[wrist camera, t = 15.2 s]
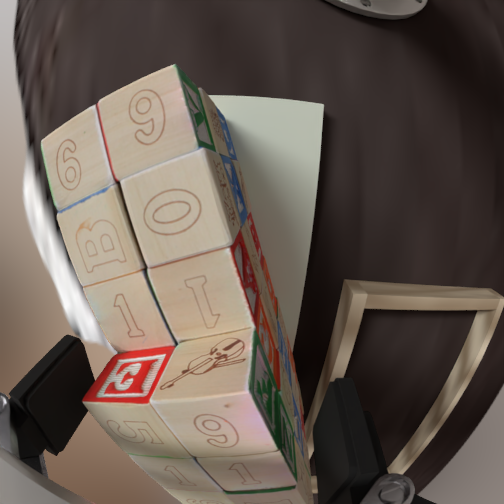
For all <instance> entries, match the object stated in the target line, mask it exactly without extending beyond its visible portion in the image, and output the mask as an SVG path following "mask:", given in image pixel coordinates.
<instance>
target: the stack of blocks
mask: <svg viewBox="0 0 504 504" xmlns="http://www.w3.org/2000/svg"><path fill="white" fill-rule="evenodd" d="M41 150H42V154H43V159H44V164H45V168H46V173H47V177H48V182H49V186H50V190H51V194H52V197H53V201H54V205H55V207H56V208H57V210H58V213H57V220H58V223H59V226H60V229H61V232H62V236H63V239H64V242H65V245H66V248H67V250H68V253H69V256H70V258H71V261H72V264H73V266H74V269H75V271H76V274H77V277H78V279H79V281H80V283H81V284H82V286H83V289H84V293H85V296H86V299H87V301H88V303H89V305H90V307H91V309H92V311H93V313H94V315H95V317H96V319H97V321H98V323H99V325H100V327H101V329H102V331H103V332H104V334H105V336H106V338H107V340H108V342H109V343H110V344H111V346H112V347H113V348H114V349H115V350H116V351H117V352H118V353H117V354H116V355H115V356H113V357H112V358H111V360H110V361H109V362H108V363H107V365H106V367H105V368H104V370H103V371H102V372H101V374H100V375H99V376H98V378H97V379H96V381H94V383H93V385H92V386H91V387H90V389H89V390H88V392H87V393H86V394H85V396H84V398H83V400H82V402H83V404H84V405H85V407H86V408H87V409H88V411H89V412H90V413H91V414H92V416H93V417H94V418H95V419H96V421H97V422H98V423H99V424H100V426H101V427H102V428H103V429H104V430H105V431H106V433H107V434H108V435H109V436H110V437H111V438H112V439H113V441H114V442H115V443H116V444H117V445H118V446H119V447H120V448H121V449H122V450H123V451H125V452H126V453H127V454H128V455H129V456H130V458H131V459H132V460H133V461H134V462H135V463H136V464H137V465H138V466H139V467H140V468H141V469H142V470H143V471H145V472H146V473H147V474H148V475H149V476H150V477H151V478H152V479H153V480H154V481H155V482H157V483H158V484H159V485H161V486H163V488H164V489H165V490H166V491H167V492H169V493H170V494H171V495H172V496H174V497H175V498H176V499H177V500H179V501H180V502H181V503H183V504H314V503H313V495H312V486H311V473H310V462H309V453H308V446H307V443H306V435H305V428H304V420H303V414H304V410H303V404H302V397H301V391H300V386H299V382H298V378H297V374H296V370H295V362H294V358H293V355H292V351H291V347H290V343H289V339H288V335H287V332H286V327H285V323H284V319H283V316H282V312H281V308H280V304H279V301H278V298H277V297H276V296H275V294H274V289H273V286H272V282H271V279H270V275H269V271H268V268H267V264H266V260H265V257H264V256H263V254H262V250H261V246H260V242H259V238H258V235H257V232H256V228H255V225H254V221H253V218H252V214H251V208H252V206H251V203H250V199H249V196H248V192H247V188H246V185H245V181H244V178H243V174H242V171H241V168H240V164H239V162H238V160H237V157H236V153H235V150H234V146H233V143H232V139H231V136H230V133H229V129H228V126H227V123H226V119H225V117H224V115H223V114H222V113H221V112H220V110H219V109H218V108H217V106H216V105H215V103H214V102H213V101H212V100H211V98H210V97H209V96H208V95H207V94H206V92H205V91H204V90H203V89H202V88H197V86H196V85H195V84H194V83H193V82H192V81H191V80H190V79H189V78H188V76H187V75H186V74H185V73H184V72H183V71H182V70H181V69H180V68H179V67H178V66H177V65H176V64H174V65H171V66H169V67H166V68H164V69H161V70H159V71H157V72H154V73H152V74H150V75H148V76H145V77H143V78H141V79H139V80H137V81H135V82H133V83H131V84H129V85H127V86H125V87H123V88H121V89H119V90H117V91H115V92H113V93H111V94H110V95H108V96H106V97H104V98H102V99H101V100H99V102H98V104H96V105H94V106H92V107H90V108H88V109H86V110H85V111H83V112H82V113H80V114H78V115H77V116H75V117H74V118H72V119H71V120H69V121H68V122H66V123H65V124H64V125H62V126H61V127H59V128H58V129H56V130H55V131H54V132H52V133H51V134H49V135H48V136H47V137H45V138H44V139H43V140H42V141H41Z"/></svg>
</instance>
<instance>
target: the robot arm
mask: <svg viewBox="0 0 504 504" xmlns="http://www.w3.org/2000/svg"><path fill="white" fill-rule="evenodd" d="M325 1H327V2H330V3H332V4H334V5H336V6H338V7H341V8H343V9H346V10H349V11H351V12H354V13H358V14H362V15H365V16H369V17H375V18H380V19H393V20H395V19H405V18H408V17H411V16H414V15H415V14H417V13H418V12H419V11H420V10H421V9H422V8H423V7H424V6H425V5H426V3H427V0H325ZM94 381H95V379H94V376H93V373H92V370H91V367H90V364H89V360H88V357H87V354H86V351H85V347H84V345H83V343H82V342H81V340H80V339H79V338H77V337H73V336H71V335H66V336H64V337H63V338H62V339H61V340H60V341H59V342H58V343H57V344H56V345H55V346H54V347H53V348H52V349H51V350H50V351H49V352H48V353H47V354H46V355H45V356H44V357H43V358H42V359H41V360H40V361H39V362H38V363H37V364H36V365H35V366H34V367H33V368H32V369H31V370H30V371H29V372H28V374H27V375H25V377H24V378H23V379H22V380H21V381H20V382H19V383H18V384H17V385H16V386H15V387H14V388H13V389H12V391H11V392H10V393H9V395H10V396H11V398H10V399H8V397H7V396H6V395H5V394H3V393H1V392H0V504H96V503H93V502H91V501H89V500H87V499H85V498H83V497H81V496H79V495H77V494H75V493H73V492H71V491H69V490H67V489H65V488H64V487H62V486H60V485H58V484H57V483H55V482H53V481H52V480H50V479H49V478H48V474H47V469H46V465H45V460H44V454H43V451H44V450H45V449H46V450H47V451H48V452H50V453H52V454H54V455H56V456H57V455H58V453H59V452H61V451H63V450H64V448H65V446H66V445H67V443H68V442H69V440H70V438H71V437H72V435H73V434H74V432H75V431H76V429H77V427H78V426H79V424H80V422H81V421H82V419H83V418H84V416H85V415H86V413H87V412H88V409H87V408H86V407H85V405H84V404H83V402H82V400H83V398H84V396H85V394H86V393H87V392H88V390H89V389H90V387H91V386H92V385H93V383H94ZM312 434H313V444H314V455H315V465H316V477H317V489H318V503H319V504H436V503H433V502H431V501H429V500H426V499H424V498H422V497H420V496H418V495H416V494H414V493H415V490H414V485H413V483H412V481H411V480H410V479H409V478H408V477H406V476H404V475H402V474H398V473H390V474H389V473H388V470H387V466H386V462H385V459H384V455H383V452H382V448H381V445H380V442H379V438H378V435H377V432H376V428H375V425H374V422H373V419H372V416H371V414H370V412H368V411H363V410H362V407H361V403H360V400H359V397H358V393H357V390H356V387H355V384H354V381H353V379H352V378H335V380H334V382H330V383H329V385H328V388H327V391H326V393H325V396H324V399H323V402H322V405H321V407H320V410H319V412H318V415H317V418H316V420H315V423H314V425H313V431H312Z"/></svg>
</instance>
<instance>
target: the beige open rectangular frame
mask: <svg viewBox="0 0 504 504" xmlns="http://www.w3.org/2000/svg"><path fill="white" fill-rule="evenodd" d="M503 306H504V297H503V296H501V295H500V294H498V293H497V292H495V291H494V290H492V289H489V288H468V287H450V286H433V285H417V284H401V283H387V282H373V281H360V280H347V279H344V282H343V287H342V292H341V297H340V302H339V306H338V311H337V315H336V319H335V323H334V328H333V332H332V336H331V340H330V343H329V347H328V351H327V355H326V358H325V362H324V366H323V369H322V373H321V376H320V379H319V383H318V386H317V389H316V393H315V396H314V399H313V402H312V405H311V408H310V411H309V414H308V417H307V420H306V423H305V426H304V428H305V435H306V443H307V446H308V453H309V460H310V457H311V455H312V453H313V451H314V444H313V434H312V431H313V425H314V423H315V420H316V418H317V415H318V412H319V410H320V407H321V405H322V402H323V399H324V396H325V393H326V391H327V388H328V385H329V383H330V382H334V380H335V378H343V377H344V374H345V371H346V368H347V365H348V362H349V359H350V356H351V353H352V350H353V346H354V343H355V340H356V336H357V333H358V329H359V326H360V322H361V319H362V315H363V311H364V308H368V309H396V310H478V311H477V314H476V316H475V319H474V322H473V324H472V327H471V329H470V332H469V334H468V337H467V339H466V341H465V344H464V346H463V348H462V351H461V353H460V355H459V357H458V359H457V361H456V363H455V365H454V367H453V369H452V371H451V373H450V375H449V377H448V379H447V381H446V383H445V385H444V387H443V388H442V390H441V392H440V394H439V395H438V397H437V399H436V401H435V402H434V404H433V406H432V407H431V409H430V411H429V412H428V414H427V415H426V417H425V418H424V420H423V421H422V423H421V424H420V426H419V427H418V429H417V430H416V432H415V433H414V435H413V436H412V437H411V439H410V440H409V442H408V443H407V444H406V446H405V447H404V448H403V450H402V451H401V452H400V454H399V455H398V456H397V457H396V459H395V460H394V461H393V462H392V464H391V465H390V466H389V467H387V470H388V473H389V474H390V473H398V474H403V473H404V472H405V471H406V470H407V469H408V468H409V466H410V465H411V464H412V463H413V462H414V461H415V460H416V458H417V457H418V456H419V455H420V454H421V452H422V451H423V450H424V449H425V447H426V446H427V445H428V444H429V442H430V441H431V440H432V438H433V437H434V436H435V434H436V433H437V432H438V430H439V429H440V428H441V426H442V425H443V423H444V422H445V420H446V419H447V418H448V416H449V415H450V413H451V412H452V410H453V408H454V407H455V405H456V404H457V402H458V401H459V399H460V397H461V396H462V394H463V392H464V391H465V389H466V387H467V385H468V384H469V382H470V380H471V378H472V376H473V375H474V373H475V371H476V369H477V367H478V365H479V363H480V361H481V359H482V357H483V355H484V353H485V351H486V348H487V346H488V344H489V342H490V339H491V337H492V335H493V332H494V330H495V328H496V325H497V322H498V320H499V317H500V315H501V312H502V309H503ZM311 486H312V493H318V489H317V477H316V476H311Z"/></svg>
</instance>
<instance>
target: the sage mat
mask: <svg viewBox="0 0 504 504" xmlns="http://www.w3.org/2000/svg"><path fill="white" fill-rule="evenodd" d="M208 96H209V97H210V98H211V100H212V101H213V102H214V103H215V105H216V106H217V108H218V109H219V110H220V112H221V113H222V114H223V115H224V117H225V119H226V123H227V126H228V129H229V133H230V136H231V139H232V143H233V146H234V150H235V153H236V157H237V160H238V162H239V164H240V168H241V171H242V174H243V178H244V181H245V185H246V188H247V192H248V196H249V199H250V203H251V206H252V208H251V214H252V218H253V221H254V225H255V228H256V232H257V235H258V238H259V242H260V246H261V250H262V254H263V256H264V257H265V260H266V264H267V268H268V271H269V275H270V279H271V282H272V286H273V289H274V294H275V296H276V297H277V298H278V301H279V304H280V308H281V312H282V316H283V319H284V323H285V327H286V332H287V335H288V339H289V343H290V347H291V351H292V352H293V347H294V342H295V336H296V331H297V326H298V320H299V314H300V308H301V303H302V296H303V290H304V284H305V278H306V271H307V264H308V257H309V250H310V243H311V235H312V227H313V219H314V211H315V202H316V193H317V184H318V173H319V163H320V151H321V139H322V124H323V108H324V104H318V103H311V102H304V101H295V100H287V99H277V98H265V97H249V96H218V95H208Z"/></svg>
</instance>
